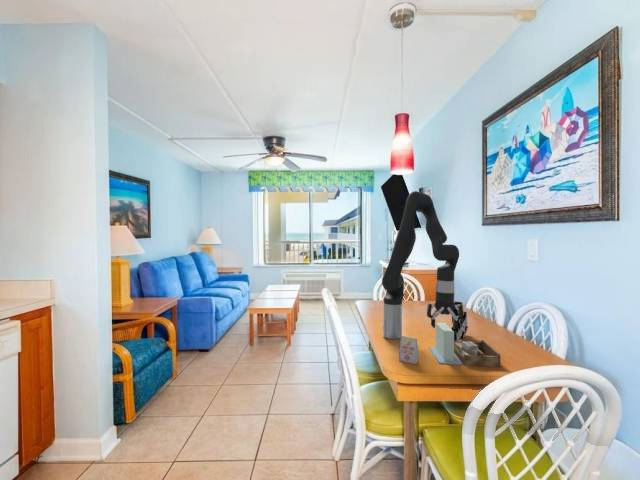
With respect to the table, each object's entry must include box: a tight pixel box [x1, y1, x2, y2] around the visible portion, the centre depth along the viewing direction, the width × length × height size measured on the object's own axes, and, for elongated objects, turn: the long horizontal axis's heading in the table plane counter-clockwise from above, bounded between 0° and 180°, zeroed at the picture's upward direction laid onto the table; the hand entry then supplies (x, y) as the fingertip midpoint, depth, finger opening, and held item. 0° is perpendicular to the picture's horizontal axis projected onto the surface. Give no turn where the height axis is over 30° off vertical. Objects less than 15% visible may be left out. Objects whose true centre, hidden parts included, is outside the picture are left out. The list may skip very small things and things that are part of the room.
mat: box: [428, 346, 463, 366], centre depth 142 cm, size 9×18×1 cm, turn 174°
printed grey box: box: [398, 335, 419, 365], centre depth 136 cm, size 4×7×10 cm, turn 53°
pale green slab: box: [435, 322, 455, 361], centre depth 142 cm, size 4×14×12 cm, turn 173°
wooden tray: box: [454, 339, 501, 368], centre depth 140 cm, size 14×19×5 cm
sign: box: [451, 300, 469, 341], centre depth 164 cm, size 22×3×20 cm, turn 143°
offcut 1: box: [454, 342, 462, 354], centre depth 145 cm, size 4×7×4 cm, turn 3°
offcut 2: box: [461, 340, 478, 354], centre depth 136 cm, size 4×6×4 cm
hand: (443, 328), depth 142 cm, fingers open, 8 cm apart
